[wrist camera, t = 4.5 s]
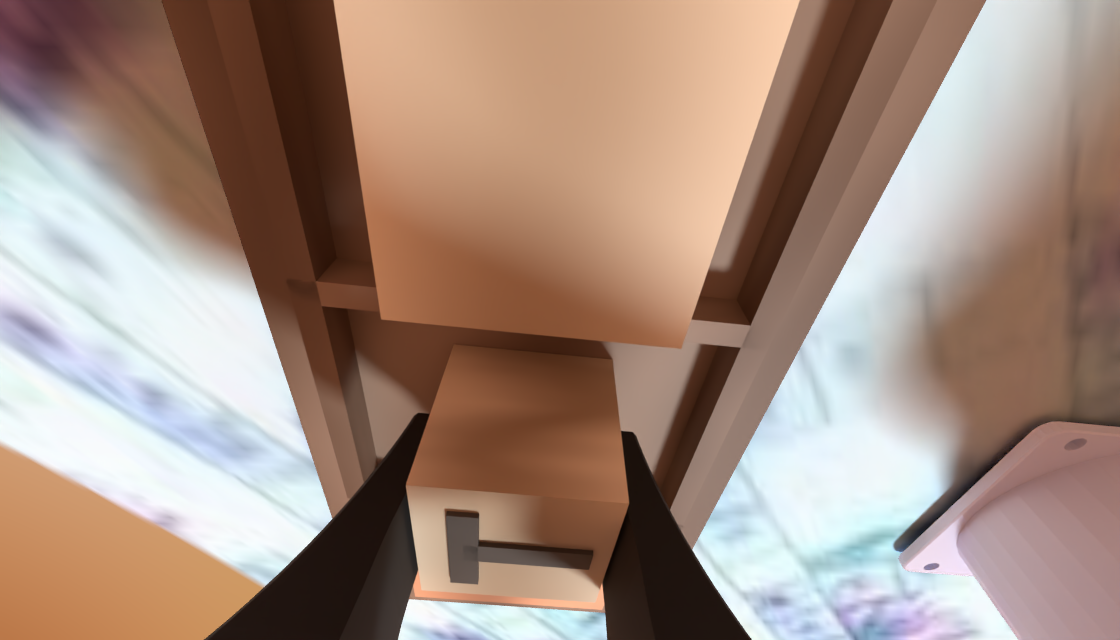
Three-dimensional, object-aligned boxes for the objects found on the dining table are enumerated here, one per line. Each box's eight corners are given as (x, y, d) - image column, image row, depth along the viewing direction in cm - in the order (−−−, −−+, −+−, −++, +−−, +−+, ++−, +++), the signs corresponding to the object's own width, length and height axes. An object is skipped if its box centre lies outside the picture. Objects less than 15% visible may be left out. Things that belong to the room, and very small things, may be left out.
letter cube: (612, 359, 11) (629, 508, 8) (589, 459, 14) (595, 607, 10) (453, 344, 11) (403, 489, 8) (457, 447, 14) (420, 595, 10)
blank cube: (697, -11, 7) (806, -21, 4) (643, 226, 9) (681, 349, 6) (440, -47, 7) (321, -89, 4) (448, 205, 9) (381, 319, 6)
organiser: (1090, -247, 6) (1224, -310, 5) (654, 604, 20) (659, 642, 19) (53, -420, 5) (-99, -543, 4) (362, 583, 20) (348, 621, 19)
